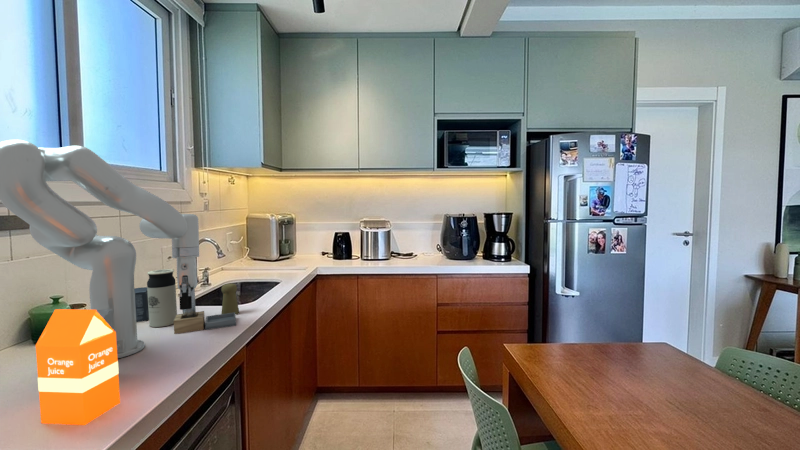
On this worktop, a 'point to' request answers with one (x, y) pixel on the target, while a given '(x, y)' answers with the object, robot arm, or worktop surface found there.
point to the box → (141, 304)
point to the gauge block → (189, 323)
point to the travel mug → (161, 298)
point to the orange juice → (77, 367)
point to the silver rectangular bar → (191, 312)
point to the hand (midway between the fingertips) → (187, 305)
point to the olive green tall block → (229, 299)
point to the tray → (220, 321)
